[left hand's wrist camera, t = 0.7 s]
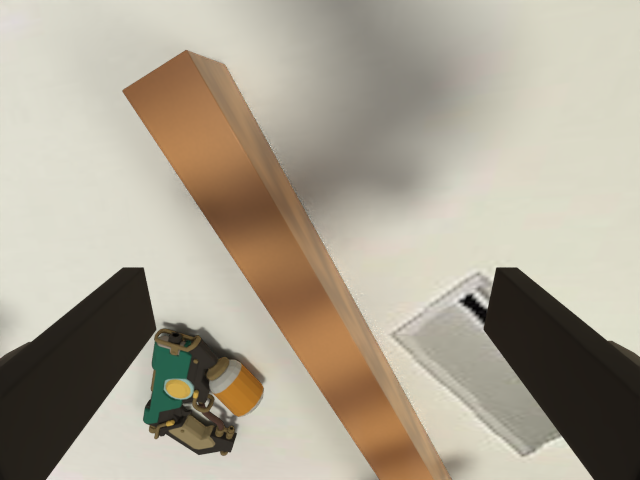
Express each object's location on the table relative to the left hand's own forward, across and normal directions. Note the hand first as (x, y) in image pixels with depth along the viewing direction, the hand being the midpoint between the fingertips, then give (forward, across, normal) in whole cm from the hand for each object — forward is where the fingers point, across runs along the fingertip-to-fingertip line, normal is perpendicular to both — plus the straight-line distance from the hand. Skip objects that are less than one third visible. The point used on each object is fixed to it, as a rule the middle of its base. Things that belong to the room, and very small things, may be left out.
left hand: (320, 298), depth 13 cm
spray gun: (+21, -15, -25) cm, 36 cm away
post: (+21, +3, -17) cm, 27 cm away
